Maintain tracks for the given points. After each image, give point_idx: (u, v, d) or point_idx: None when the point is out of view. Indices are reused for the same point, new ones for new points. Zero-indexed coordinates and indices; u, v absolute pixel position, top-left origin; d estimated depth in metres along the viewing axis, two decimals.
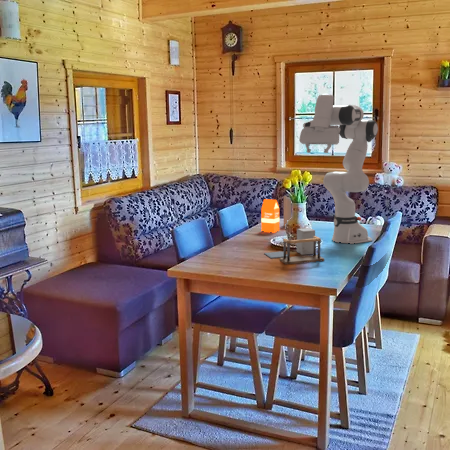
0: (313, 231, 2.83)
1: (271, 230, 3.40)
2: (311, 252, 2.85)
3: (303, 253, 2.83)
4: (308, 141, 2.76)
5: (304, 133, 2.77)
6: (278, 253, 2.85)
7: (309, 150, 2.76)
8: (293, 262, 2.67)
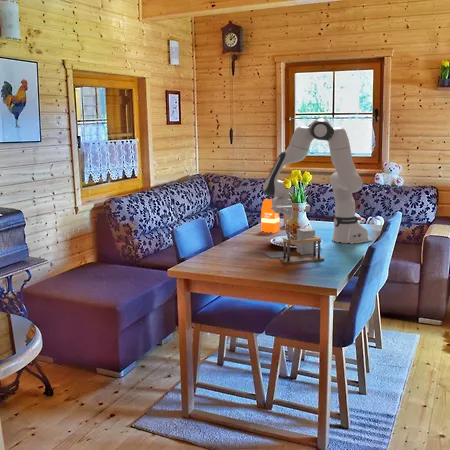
0: (313, 231, 2.83)
1: (271, 230, 3.40)
2: (311, 252, 2.85)
3: (303, 253, 2.83)
4: None
5: None
6: (278, 253, 2.85)
7: None
8: (293, 262, 2.67)
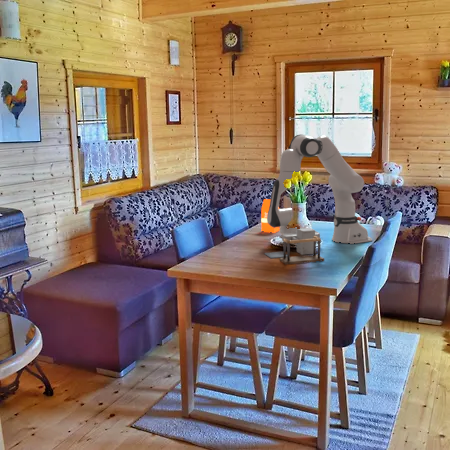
0: (313, 231, 2.83)
1: (271, 230, 3.40)
2: (311, 252, 2.85)
3: (303, 253, 2.83)
4: None
5: None
6: (278, 253, 2.85)
7: None
8: (293, 262, 2.67)
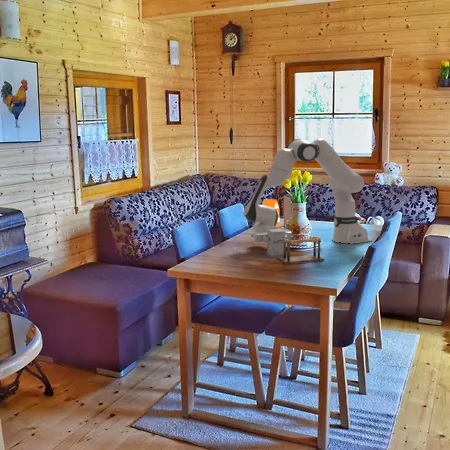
0: (283, 232, 2.79)
1: None
2: (281, 253, 2.81)
3: (273, 254, 2.79)
4: None
5: None
6: None
7: None
8: (293, 262, 2.67)
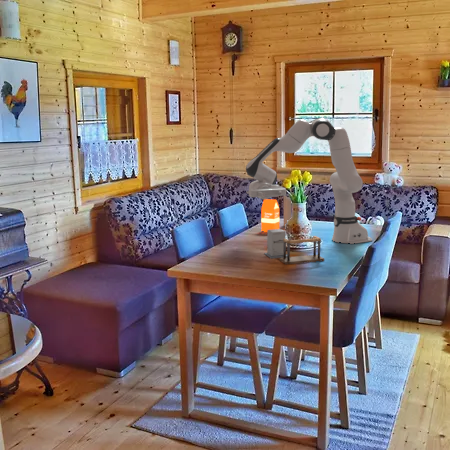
0: (283, 232, 2.79)
1: None
2: (281, 253, 2.81)
3: (273, 254, 2.79)
4: (277, 195, 2.96)
5: None
6: None
7: (278, 194, 2.92)
8: (293, 262, 2.67)
